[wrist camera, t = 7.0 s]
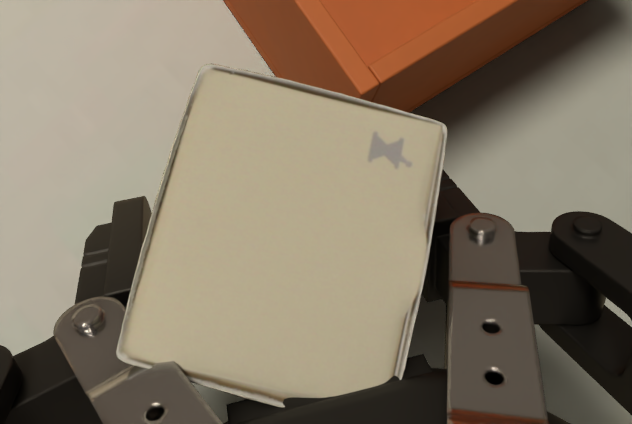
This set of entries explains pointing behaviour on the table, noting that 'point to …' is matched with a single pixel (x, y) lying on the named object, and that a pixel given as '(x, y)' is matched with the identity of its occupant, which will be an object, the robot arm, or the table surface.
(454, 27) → the bin
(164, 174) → the small printed carton
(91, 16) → the table surface
